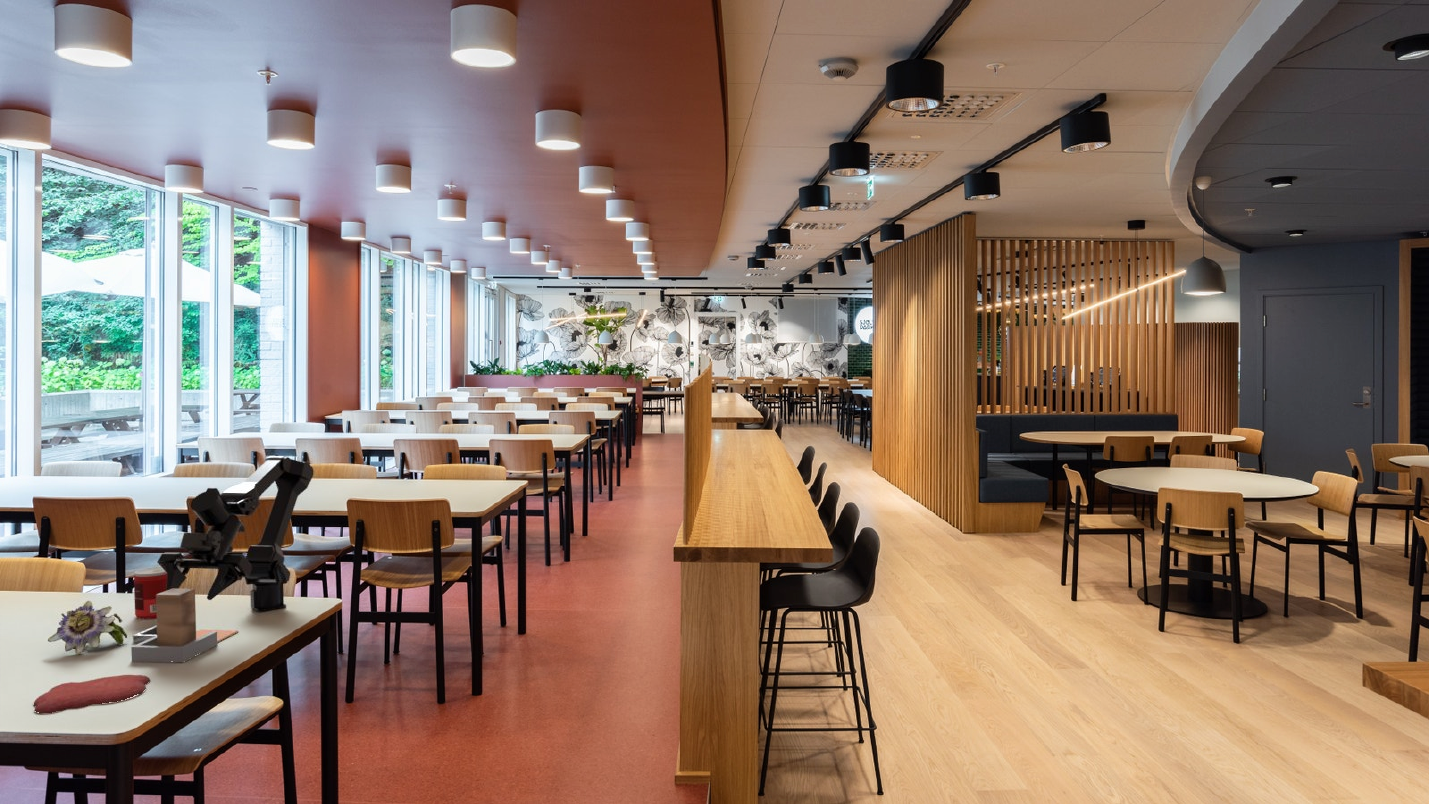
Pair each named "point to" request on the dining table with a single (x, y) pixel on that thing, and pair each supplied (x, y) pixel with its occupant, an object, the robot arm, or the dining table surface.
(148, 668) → the dining table surface
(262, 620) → the dining table surface
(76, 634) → the passion flower
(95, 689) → the patty
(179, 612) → the walnut block
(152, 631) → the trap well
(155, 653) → the channel
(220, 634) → the pad
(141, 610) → the canned food
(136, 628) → the dining table surface
